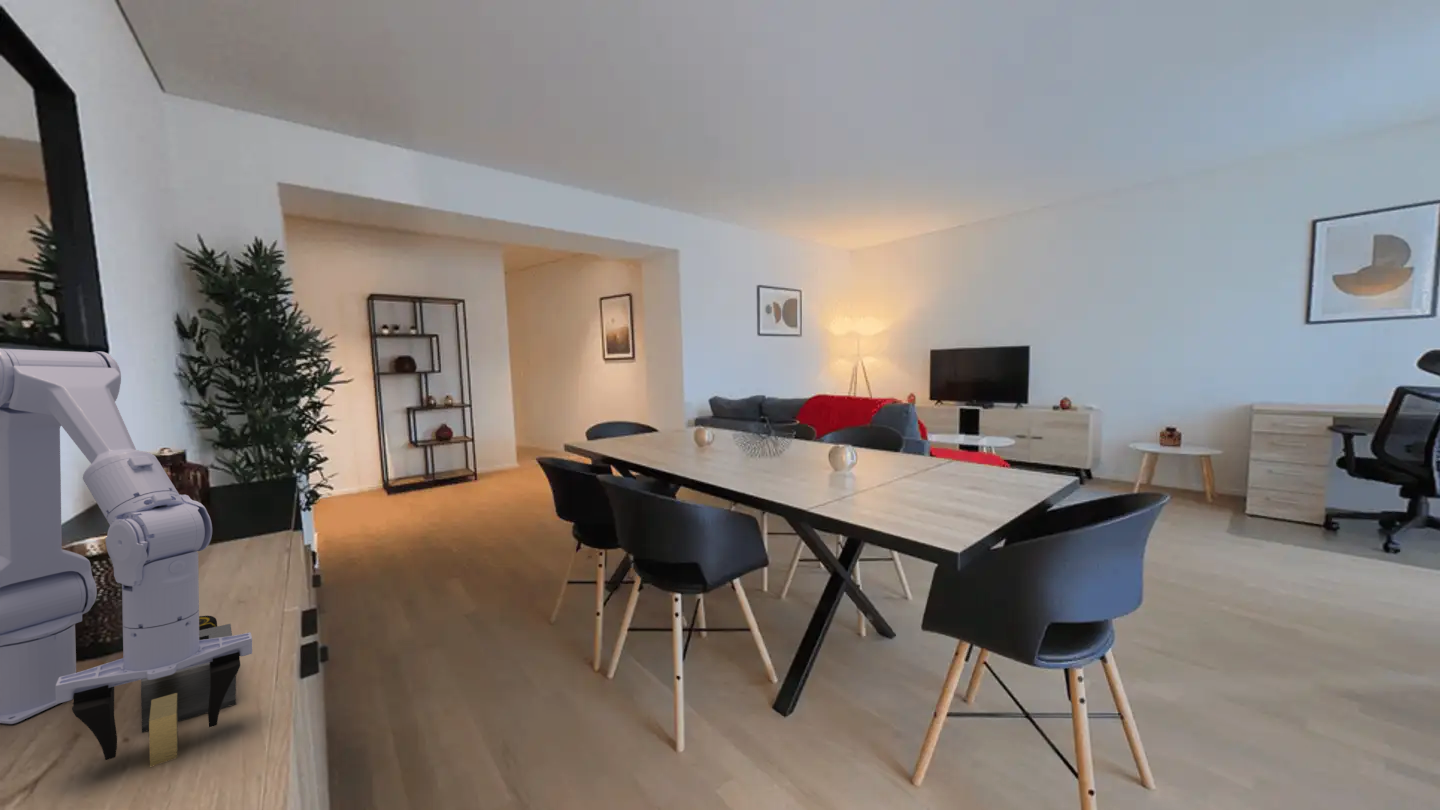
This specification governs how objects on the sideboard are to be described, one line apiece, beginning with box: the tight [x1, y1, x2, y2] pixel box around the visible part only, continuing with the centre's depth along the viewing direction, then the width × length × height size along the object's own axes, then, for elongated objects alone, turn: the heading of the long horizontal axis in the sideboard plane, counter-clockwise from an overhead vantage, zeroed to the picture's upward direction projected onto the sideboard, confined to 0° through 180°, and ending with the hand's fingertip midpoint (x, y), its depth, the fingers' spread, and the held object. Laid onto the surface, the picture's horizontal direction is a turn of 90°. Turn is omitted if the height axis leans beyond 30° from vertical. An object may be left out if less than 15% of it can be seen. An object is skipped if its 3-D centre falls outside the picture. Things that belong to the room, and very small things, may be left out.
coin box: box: [140, 623, 237, 733], centre depth 68 cm, size 12×8×6 cm, turn 45°
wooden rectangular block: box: [148, 693, 179, 767], centre depth 58 cm, size 5×2×5 cm, turn 45°
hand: (164, 737), depth 58 cm, fingers open, 7 cm apart
